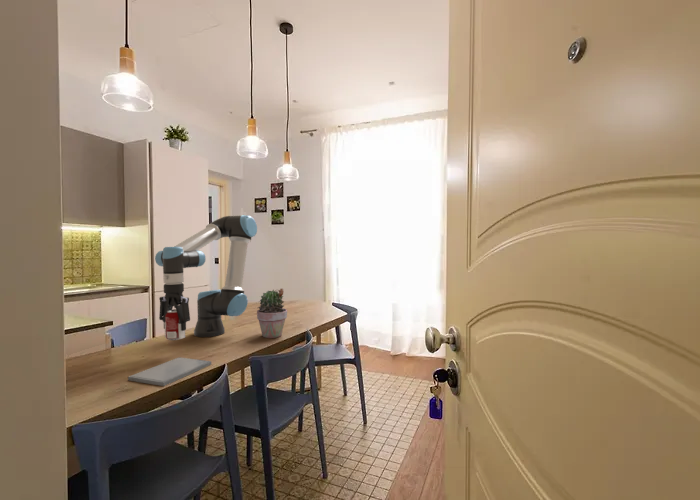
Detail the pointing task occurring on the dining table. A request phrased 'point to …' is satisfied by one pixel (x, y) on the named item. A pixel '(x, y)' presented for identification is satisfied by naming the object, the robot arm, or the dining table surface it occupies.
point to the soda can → (172, 325)
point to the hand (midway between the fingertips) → (175, 337)
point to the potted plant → (271, 314)
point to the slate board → (169, 371)
